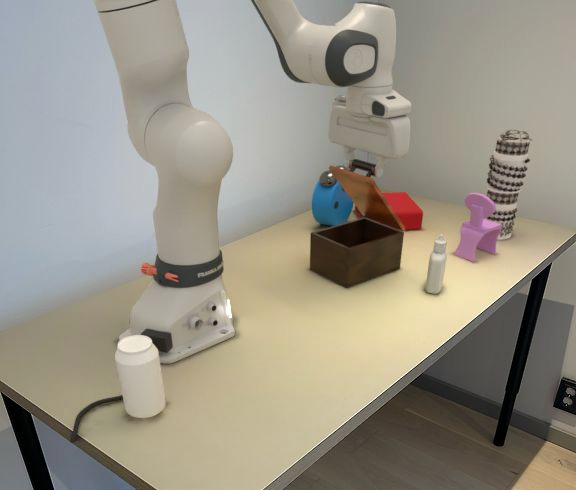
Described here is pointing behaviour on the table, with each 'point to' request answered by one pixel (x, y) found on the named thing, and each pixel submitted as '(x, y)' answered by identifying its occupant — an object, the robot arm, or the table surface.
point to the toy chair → (478, 228)
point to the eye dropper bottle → (436, 266)
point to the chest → (355, 251)
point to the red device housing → (402, 210)
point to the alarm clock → (330, 200)
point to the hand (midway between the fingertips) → (364, 172)
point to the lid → (366, 193)
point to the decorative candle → (507, 177)
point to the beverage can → (140, 376)
